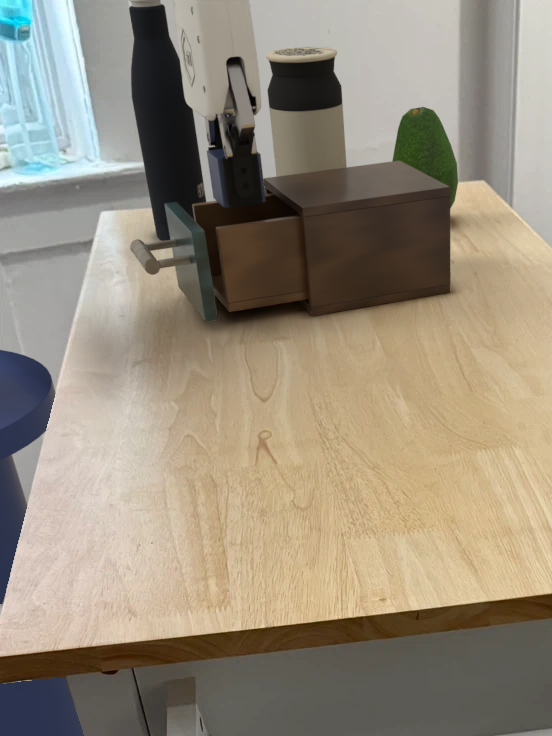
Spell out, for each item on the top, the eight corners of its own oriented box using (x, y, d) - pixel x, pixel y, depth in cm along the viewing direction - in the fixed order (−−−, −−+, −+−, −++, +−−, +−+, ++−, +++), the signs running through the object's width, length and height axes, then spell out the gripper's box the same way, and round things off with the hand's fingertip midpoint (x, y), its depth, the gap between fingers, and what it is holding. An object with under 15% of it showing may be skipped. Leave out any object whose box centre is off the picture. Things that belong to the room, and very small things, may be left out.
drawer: (160, 329, 93) (143, 239, 88) (136, 293, 101) (119, 209, 96) (341, 299, 98) (335, 211, 93) (305, 267, 106) (297, 185, 101)
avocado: (389, 216, 123) (384, 102, 116) (452, 212, 124) (452, 98, 116) (396, 234, 117) (392, 115, 110) (463, 230, 118) (464, 111, 110)
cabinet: (312, 316, 97) (302, 207, 91) (274, 279, 106) (263, 178, 100) (450, 292, 101) (450, 186, 95) (403, 258, 110) (399, 160, 104)
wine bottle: (152, 230, 122) (94, -88, 102) (205, 223, 124) (158, -91, 104) (161, 244, 117) (102, -86, 98) (216, 237, 119) (168, -90, 99)
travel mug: (307, 248, 114) (290, 59, 103) (269, 234, 119) (249, 52, 108) (364, 234, 118) (354, 50, 106) (325, 220, 123) (311, 43, 111)
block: (224, 208, 93) (217, 159, 90) (213, 198, 95) (206, 150, 93) (266, 202, 94) (260, 153, 91) (254, 192, 97) (248, 145, 94)
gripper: (140, -49, 88) (179, 185, 99) (184, -37, 76) (222, 226, 88) (225, -55, 90) (252, 175, 101) (280, -45, 78) (304, 214, 90)
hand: (238, 196), depth 94 cm, fingers closed on block, 4 cm apart
